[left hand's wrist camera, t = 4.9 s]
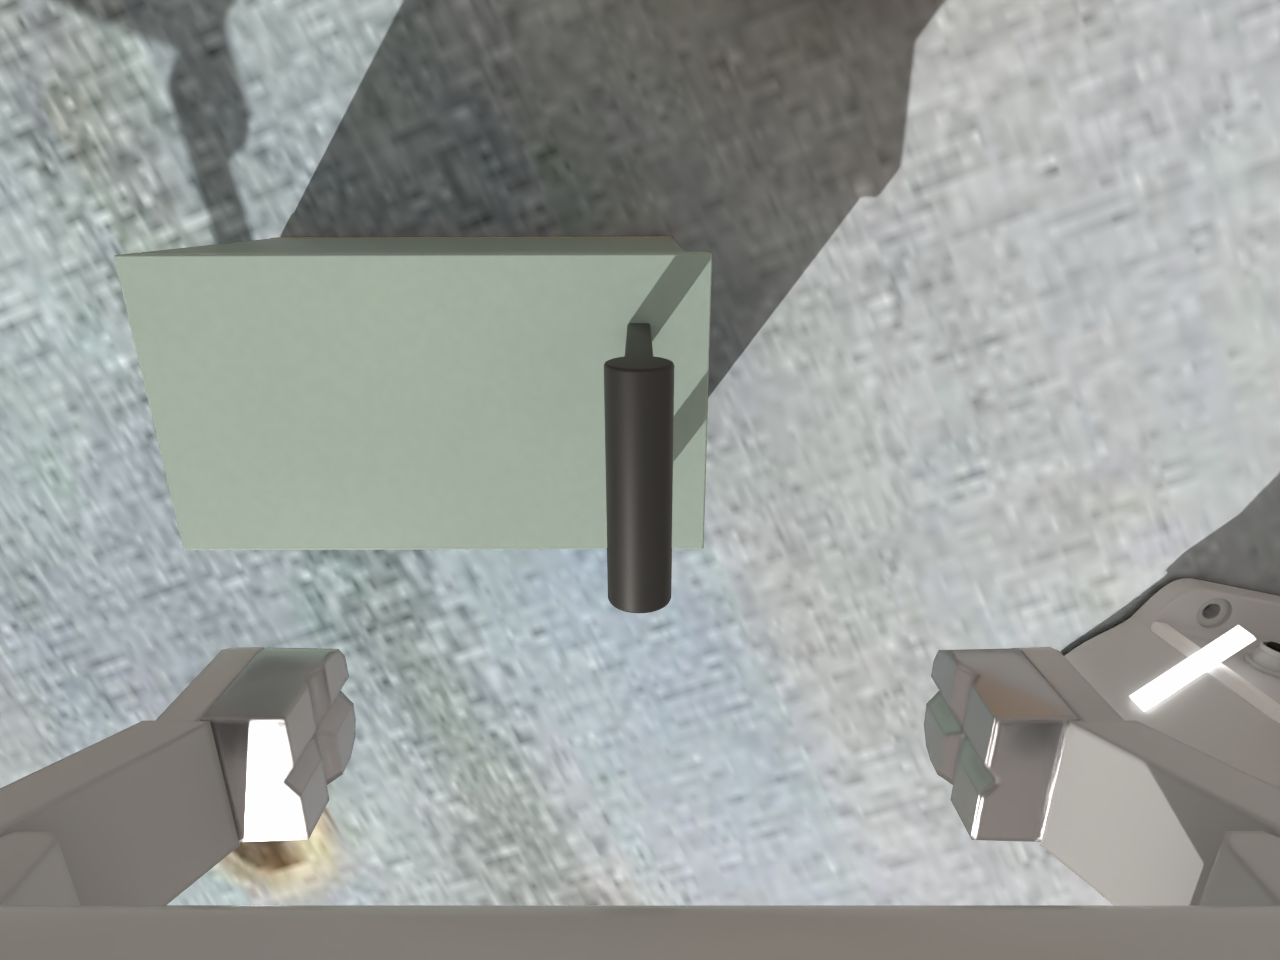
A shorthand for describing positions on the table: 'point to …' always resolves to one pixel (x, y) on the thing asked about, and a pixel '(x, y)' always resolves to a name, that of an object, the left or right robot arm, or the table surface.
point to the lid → (432, 401)
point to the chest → (440, 245)
